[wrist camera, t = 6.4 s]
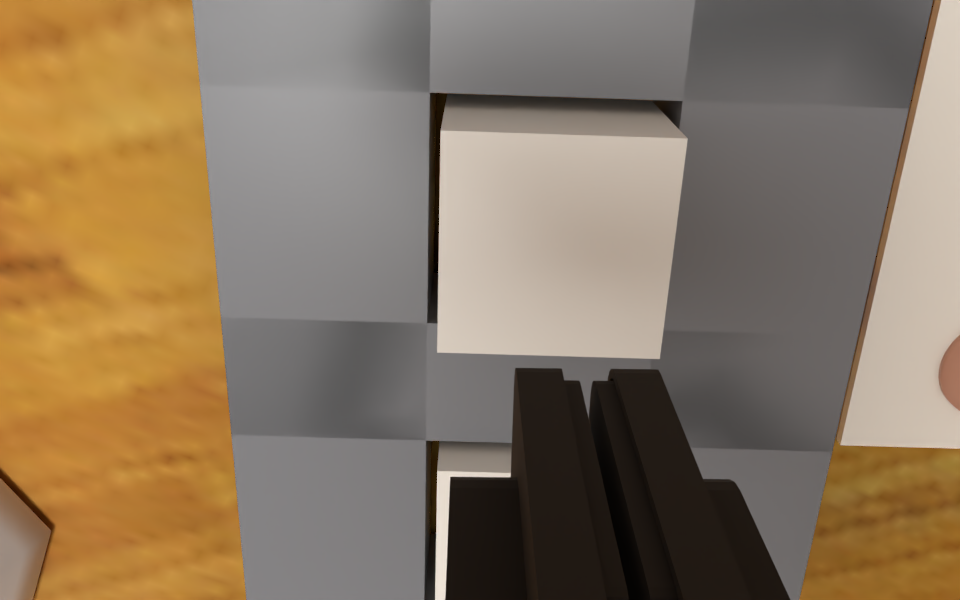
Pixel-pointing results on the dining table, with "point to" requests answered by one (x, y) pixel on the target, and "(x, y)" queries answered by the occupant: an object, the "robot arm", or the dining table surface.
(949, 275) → the pattern card
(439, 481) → the button
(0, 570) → the flask
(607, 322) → the button
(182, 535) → the dining table surface
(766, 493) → the button board
